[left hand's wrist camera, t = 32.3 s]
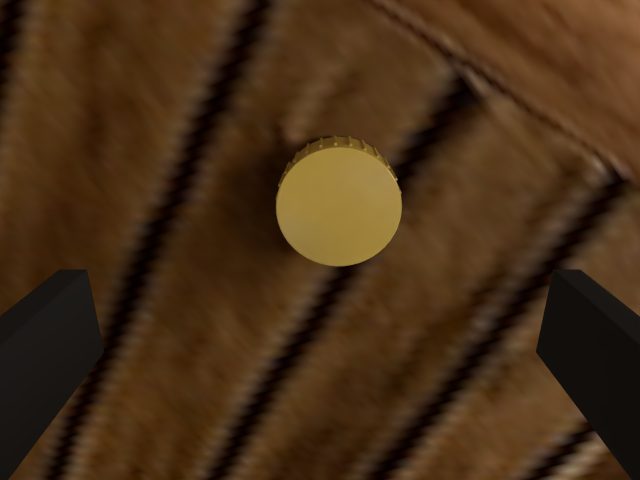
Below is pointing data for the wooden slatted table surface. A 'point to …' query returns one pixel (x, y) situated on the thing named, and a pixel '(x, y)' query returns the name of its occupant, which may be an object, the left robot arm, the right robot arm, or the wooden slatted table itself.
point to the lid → (338, 201)
